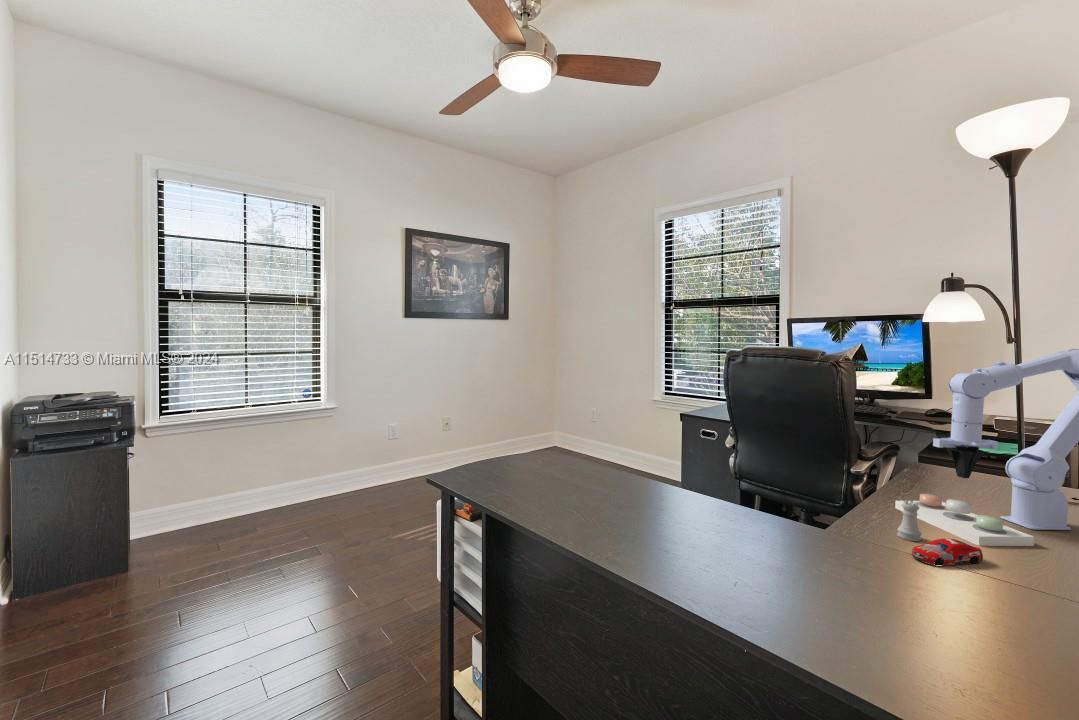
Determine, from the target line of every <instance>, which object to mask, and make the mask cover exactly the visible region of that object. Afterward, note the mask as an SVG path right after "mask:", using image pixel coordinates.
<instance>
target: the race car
mask: <svg viewBox="0 0 1079 720" xmlns="http://www.w3.org/2000/svg"><path fill="white" fill-rule="evenodd" d="M912 556H913V559H915V558H916V560H917V559H918V560H917V561H919V560H920V562H922V561H923V562H922V563H924V562H927V563H926V564H928V563H929V564H928V565H932V564H933V566H934V564H935V565H943V566H956V565H971V566H972V565H978V564H980V563H982V562H983V561H984V560H983V559H984V554H983V551H982V549H981V548H980V547H978V546H977V545H975V544H974V545H973V544H971V543H968V542H965V541H960V540H958V539H955V538H945V537H944V538H937V539H933V540H931V541H929V540H926V543H924V544H920V545H917V546H914V547H912V548H911V557H912Z"/></svg>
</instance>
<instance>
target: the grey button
mask: <svg viewBox="0 0 1079 720" xmlns="http://www.w3.org/2000/svg"><path fill="white" fill-rule="evenodd" d="M945 503H946V509H947V510H949V511H952V512H956V513H962V514H970V513H972V512H971V509H972V507H971V506H972V503H970V502H969V501H968V502H967V501H965V500H960V499H951V498H950V499H946V501H945Z"/></svg>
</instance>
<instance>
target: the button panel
mask: <svg viewBox="0 0 1079 720" xmlns="http://www.w3.org/2000/svg"><path fill="white" fill-rule="evenodd" d="M903 501H904V500H895V505H894V506H895V507H894V508H895V509H896V510H898V511H900V512H903V510H904V509H903V507H902V506H901V505H902V504H903ZM910 501H911V500H908V503H910ZM912 501H913V503H914V502H917V503H918V506H919V509H918V510H917V514H918V515H917V520H918V519H919V520H920V521H922V522H925V523H927V524H929V525H932V526H934V527H936V528H938V529H941V530H943V531H945V532H947V533H950V534H952V535H954V536H956V537H958V538H961V539H963V540H965V541H967V542H970V543H972V544H974V545H975V546H977V547H978V546H979V547H1034V546H1035V536H1034V535H1031V534H1029V533H1028V534H1027V533H1025V532H1023V531H1020V530H1017V529H1015V528H1012V527H1009V526H1007V525H1004V524H1003V531H990V530H986V529H982V528H980V527H978V526H976V518H977V516H978V514H977V513H973V512H971V513H970V514H962V513H956V512H952V511H949V510H947V509H946V502H944V501H942V506H941V507H932V506H927V505H923V504H921V503H920V500H912Z"/></svg>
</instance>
